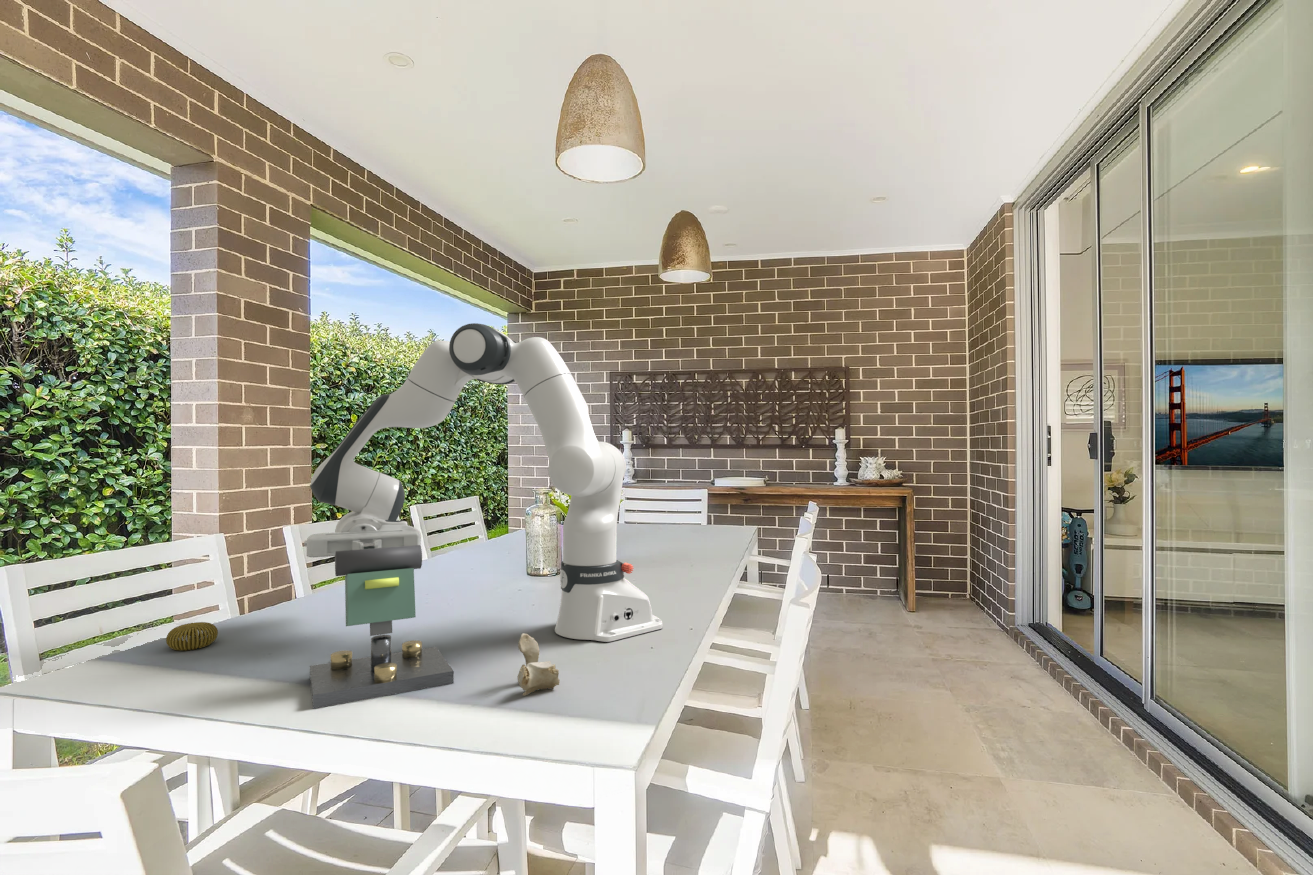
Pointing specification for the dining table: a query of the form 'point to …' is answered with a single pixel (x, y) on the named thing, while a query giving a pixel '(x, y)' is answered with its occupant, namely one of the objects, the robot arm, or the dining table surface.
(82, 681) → the dining table surface
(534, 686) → the bone
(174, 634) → the sculpture
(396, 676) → the plate
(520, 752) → the dining table surface
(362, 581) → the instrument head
